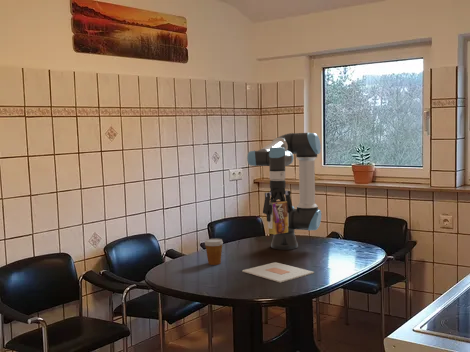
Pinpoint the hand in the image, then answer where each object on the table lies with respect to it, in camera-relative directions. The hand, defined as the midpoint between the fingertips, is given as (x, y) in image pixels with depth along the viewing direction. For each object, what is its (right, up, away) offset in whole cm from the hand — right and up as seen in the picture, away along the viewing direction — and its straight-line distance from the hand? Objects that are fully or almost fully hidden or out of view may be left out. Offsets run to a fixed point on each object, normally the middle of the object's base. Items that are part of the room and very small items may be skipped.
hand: (278, 227), depth 262 cm
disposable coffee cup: (-31, -21, +19) cm, 42 cm away
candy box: (0, -3, 0) cm, 3 cm away
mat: (0, -21, -1) cm, 21 cm away
